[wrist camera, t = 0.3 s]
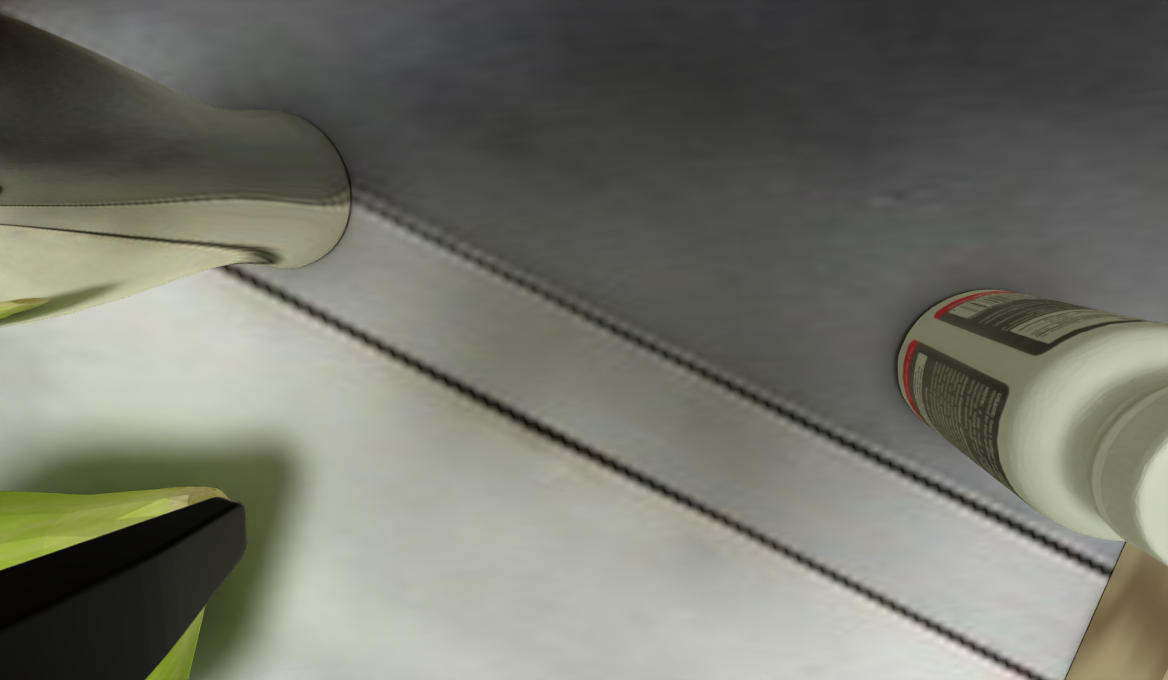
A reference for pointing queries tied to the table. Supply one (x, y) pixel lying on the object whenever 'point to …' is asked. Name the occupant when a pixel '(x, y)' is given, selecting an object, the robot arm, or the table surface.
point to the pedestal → (1128, 624)
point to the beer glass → (143, 181)
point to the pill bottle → (1051, 406)
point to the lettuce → (55, 521)
